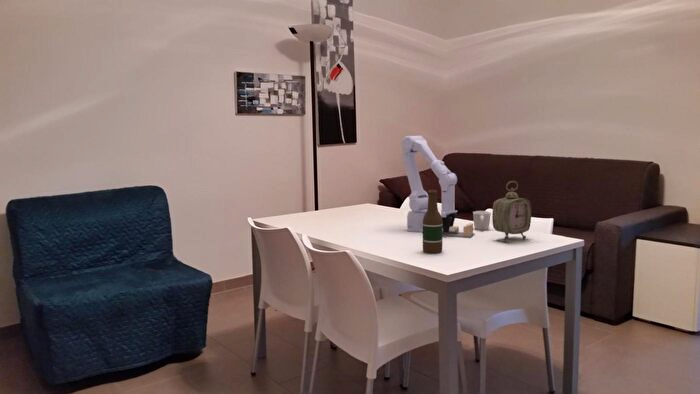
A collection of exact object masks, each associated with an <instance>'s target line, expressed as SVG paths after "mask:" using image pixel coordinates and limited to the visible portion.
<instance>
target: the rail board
mask: <svg viewBox="0 0 700 394" xmlns="http://www.w3.org/2000/svg"><path fill="white" fill-rule="evenodd" d="M475 235H476V234H475V233H474V222H473V223H472V222H471V223H470V222H469V223H468V224H465V225H464V226H463V231H459V232H458V234H456V233H443V232H442V237H449V238H464V239H465V238H466V239H471V238H473V236H475Z"/></svg>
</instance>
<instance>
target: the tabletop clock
mask: <svg viewBox="0 0 700 394" xmlns="http://www.w3.org/2000/svg"><path fill="white" fill-rule="evenodd" d="M512 183H514V184H516V187H515V188H514V187H511V188H510V189H508V185H510V184H512ZM518 188H519V184H518V182H517V181H516V180H510V181H508V182H507V183H506V185H505V189H506V190H507V193H506V195H505V197H502V198H499V199H496V200H494V202H493V205H492V213H491V216H492V217H491V218H492V228H493V229H494V230H495V231H496V232H500V233H504V242H505V243H509V238H510V237H509V234H510V235H521V236H522V240H526V239H527V236H526V235H524V233H526V232H528V231H529V230H530V228H531V222H532V204H531V201H530V199H528V198H521V197H519V195H518V193H517V192H515V191H517V189H518Z"/></svg>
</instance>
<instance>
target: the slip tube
mask: <svg viewBox="0 0 700 394" xmlns="http://www.w3.org/2000/svg"><path fill="white" fill-rule="evenodd" d="M459 229H460V227H459V226H455V225H453V226H450V227H449V232H444V231H443V227H442V232H443V233H456V234H458V232H460V230H459Z"/></svg>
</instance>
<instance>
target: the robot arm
mask: <svg viewBox="0 0 700 394" xmlns="http://www.w3.org/2000/svg"><path fill="white" fill-rule="evenodd" d="M400 145H401V148H402V151H401V152H402V154H401V155H402V161H403V164H404V168H405V172H406V176H407V179H408V185H409V187H410V191H411V193H410V194H409V196H408V199H409V209H410V210H409V211H408V212H407V216H406V227H407V228H406V231H407V232H421V233H423V218H424V215H425V214H426V212H427V209H428V191H426V190H425V189H424V187H423V183H422V179H421V176H420V173H419V169H418V165H417V161H416V156H417V154H419V153H420V154H421V155H422V156H423V157H424V158H425V159H426V161H427V162H428V163H429V164H430V169H431V171H433V173H434V174H435V176H436V177H437V178H438V183H439V185H440V190H441V210H440V212H441V213H440V215H441V217H442V227H443V231H444V232H449V227H450V226H454V224H455V221H456V220H455V219H456V217H457V215H458V214H457V213H458V210H455V209H456V208H455V201H456V200H455V196H456V195H455V192H456V191H455V189H456V188H455V187H456V186H455V185H457V183H458V177H457V174H456V173H454V172H451V170H450V169H449V168H448V167H447V166H446V165H445V162H444V161H443V160H441V159H438V158H437V157H436V156H435V154H434V153H433V152H432V150H431V148H430V147H429V145H428V142H427V140H426V139H425V137H424V136H422V135H420V134H419V135H406V136H404V137H403V139H402V141H401V143H400Z"/></svg>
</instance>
